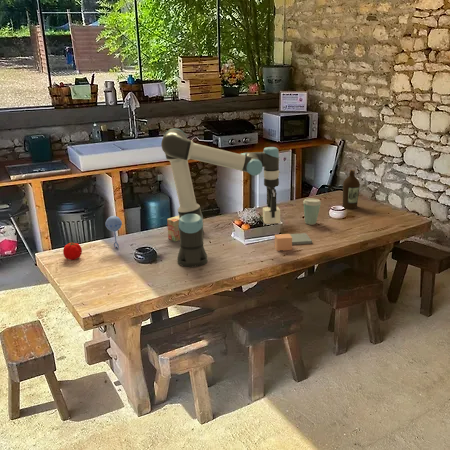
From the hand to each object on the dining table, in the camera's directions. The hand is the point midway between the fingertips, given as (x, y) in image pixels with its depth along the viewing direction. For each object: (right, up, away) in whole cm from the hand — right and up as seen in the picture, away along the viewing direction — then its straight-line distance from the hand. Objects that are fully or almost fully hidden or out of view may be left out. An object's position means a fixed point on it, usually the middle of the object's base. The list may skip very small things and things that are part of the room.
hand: (271, 220), depth 259 cm
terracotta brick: (+7, -15, +5) cm, 17 cm away
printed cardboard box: (-47, -8, +26) cm, 54 cm away
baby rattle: (-84, -15, +10) cm, 85 cm away
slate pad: (+16, -11, +16) cm, 25 cm away
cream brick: (0, 0, 0) cm, 0 cm away
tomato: (-103, -20, -2) cm, 105 cm away
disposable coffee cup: (+28, -1, +42) cm, 50 cm away
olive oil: (+59, +10, +70) cm, 92 cm away
